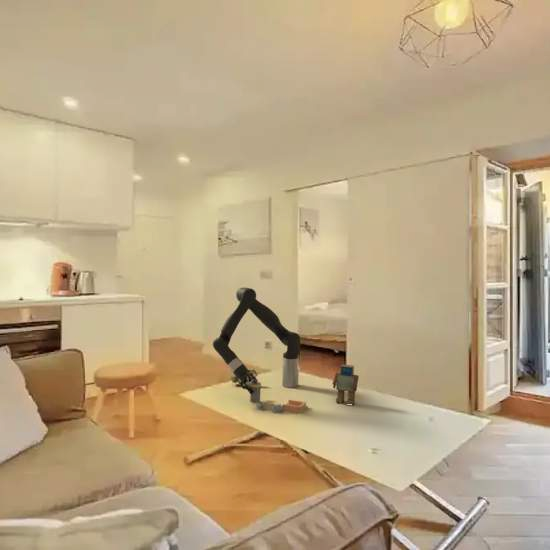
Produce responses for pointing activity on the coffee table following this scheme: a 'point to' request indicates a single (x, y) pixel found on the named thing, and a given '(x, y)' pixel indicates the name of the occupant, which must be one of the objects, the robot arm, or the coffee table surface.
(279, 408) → the clip
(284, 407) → the holder
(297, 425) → the coffee table surface
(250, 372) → the skull
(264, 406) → the clip
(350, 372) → the toy
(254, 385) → the plug
